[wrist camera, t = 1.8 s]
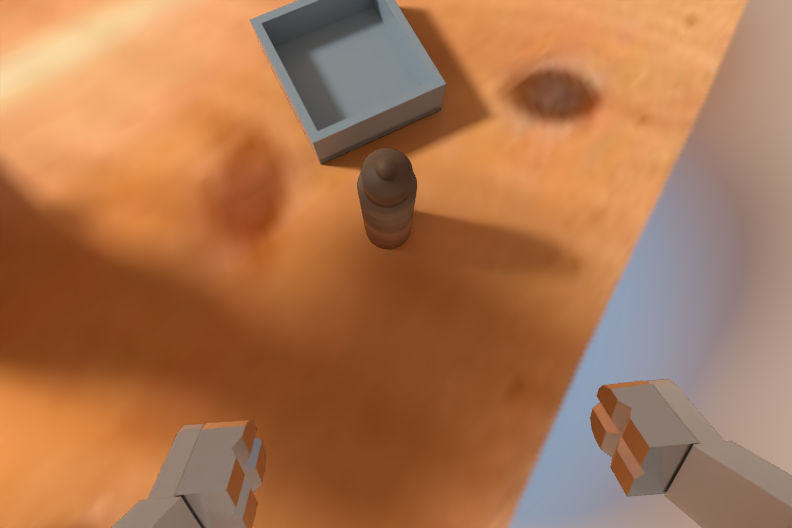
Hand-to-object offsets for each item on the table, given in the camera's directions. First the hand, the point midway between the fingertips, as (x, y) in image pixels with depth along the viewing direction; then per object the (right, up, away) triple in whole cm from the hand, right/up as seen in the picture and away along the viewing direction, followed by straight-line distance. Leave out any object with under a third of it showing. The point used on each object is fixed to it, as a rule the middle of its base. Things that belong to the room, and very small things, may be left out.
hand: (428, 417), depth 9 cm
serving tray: (-5, +22, +29) cm, 36 cm away
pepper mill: (-1, +7, +26) cm, 27 cm away
